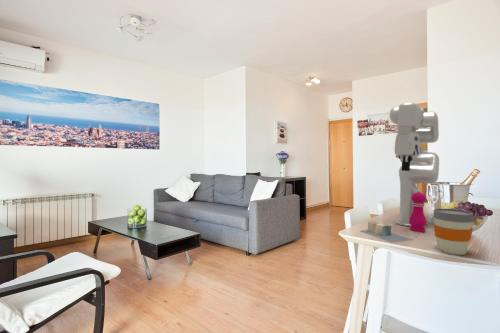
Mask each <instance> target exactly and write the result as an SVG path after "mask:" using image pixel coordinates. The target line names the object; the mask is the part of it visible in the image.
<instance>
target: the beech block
mask: <svg viewBox="0 0 500 333" xmlns="http://www.w3.org/2000/svg"><path fill="white" fill-rule="evenodd" d="M367 230H368V231H369V232H372V233H375V234H378V235H381V236H390V235H391V233H392V225H391V224H387V223H383V222H380V221H377V220H372V221H368V222H367Z"/></svg>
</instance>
